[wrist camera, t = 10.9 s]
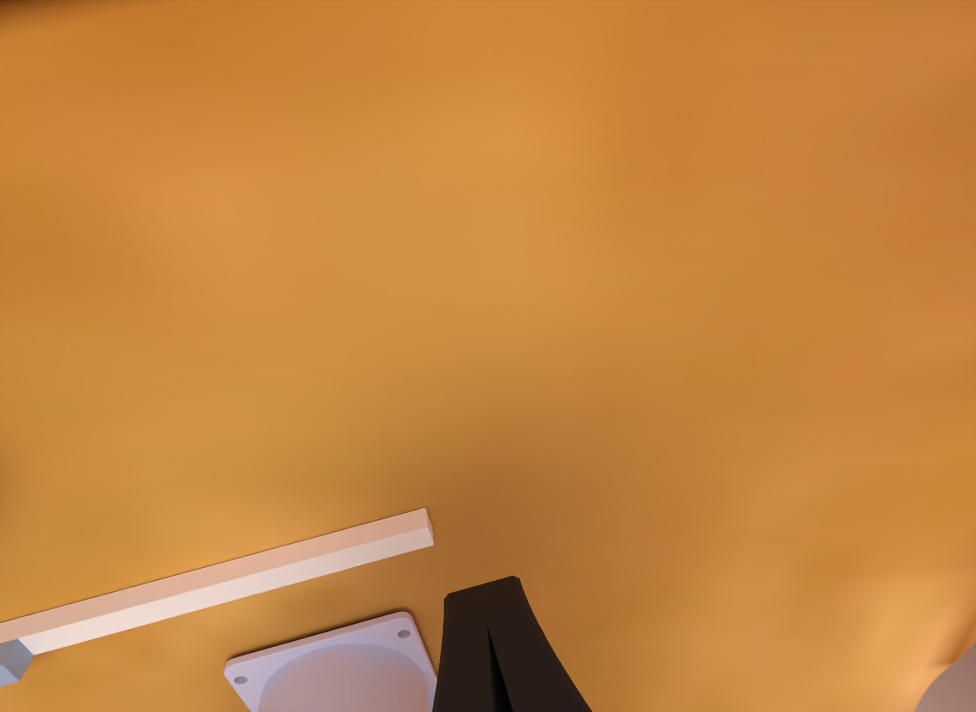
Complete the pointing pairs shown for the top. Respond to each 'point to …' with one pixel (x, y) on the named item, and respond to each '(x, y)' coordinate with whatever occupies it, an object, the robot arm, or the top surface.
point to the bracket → (13, 661)
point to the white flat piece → (220, 583)
